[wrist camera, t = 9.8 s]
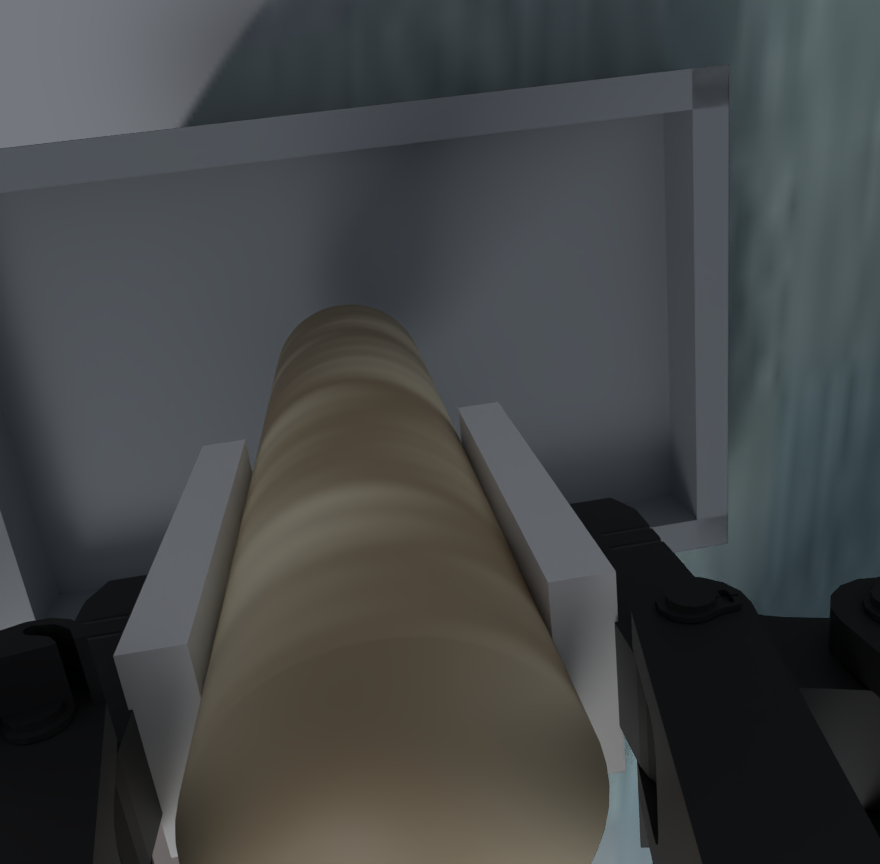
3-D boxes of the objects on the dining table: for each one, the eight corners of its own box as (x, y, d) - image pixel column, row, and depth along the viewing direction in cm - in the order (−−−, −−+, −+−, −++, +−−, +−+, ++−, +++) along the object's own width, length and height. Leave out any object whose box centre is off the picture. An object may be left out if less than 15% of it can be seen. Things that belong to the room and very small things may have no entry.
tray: (45, 610, 27) (12, 664, 24) (-95, 165, 22) (-155, 166, 20) (688, 505, 29) (727, 543, 26) (681, 74, 24) (729, 64, 21)
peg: (290, 455, 23) (224, 1019, 8) (264, 315, 22) (127, 682, 7) (430, 434, 23) (616, 940, 8) (414, 295, 22) (601, 601, 7)
